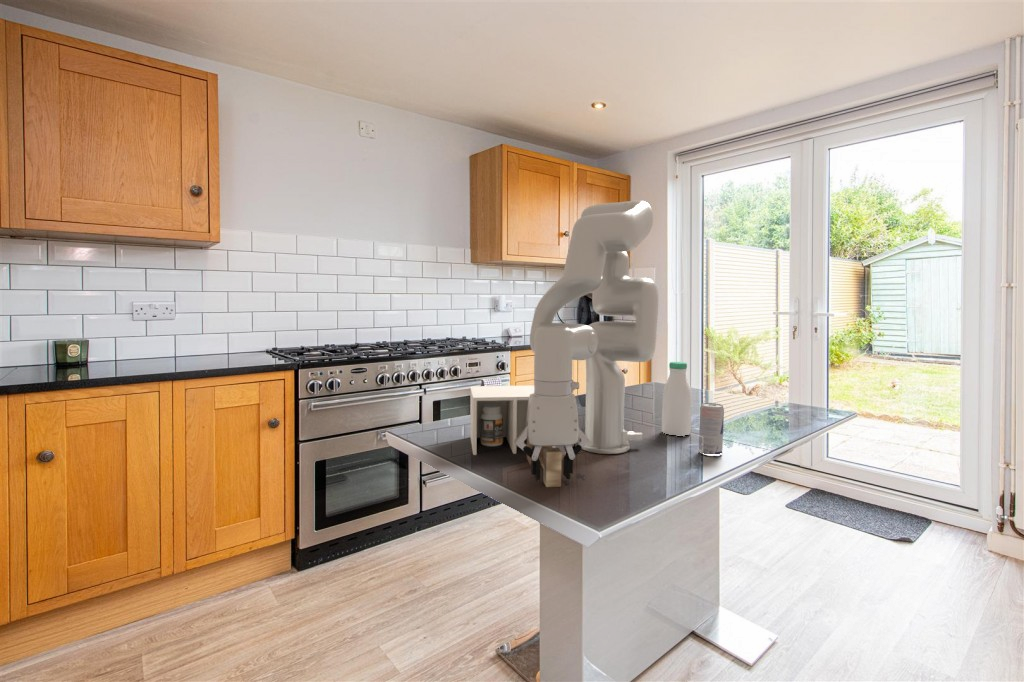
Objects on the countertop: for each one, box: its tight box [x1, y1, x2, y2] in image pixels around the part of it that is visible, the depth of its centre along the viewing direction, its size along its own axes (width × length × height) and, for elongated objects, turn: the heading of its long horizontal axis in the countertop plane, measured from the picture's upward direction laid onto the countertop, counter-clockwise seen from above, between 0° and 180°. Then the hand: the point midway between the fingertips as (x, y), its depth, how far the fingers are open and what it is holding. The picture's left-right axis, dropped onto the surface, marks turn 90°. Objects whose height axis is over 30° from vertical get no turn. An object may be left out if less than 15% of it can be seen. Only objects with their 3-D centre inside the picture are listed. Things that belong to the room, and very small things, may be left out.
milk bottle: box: [661, 361, 693, 436], centre depth 143 cm, size 8×8×20 cm
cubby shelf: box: [469, 384, 557, 456], centre depth 131 cm, size 20×16×14 cm
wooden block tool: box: [526, 438, 563, 488], centre depth 111 cm, size 5×19×7 cm, turn 7°
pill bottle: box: [480, 404, 504, 447], centre depth 132 cm, size 6×6×10 cm
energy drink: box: [698, 402, 725, 454], centre depth 124 cm, size 5×5×12 cm
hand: (551, 476), depth 104 cm, fingers open, 5 cm apart
